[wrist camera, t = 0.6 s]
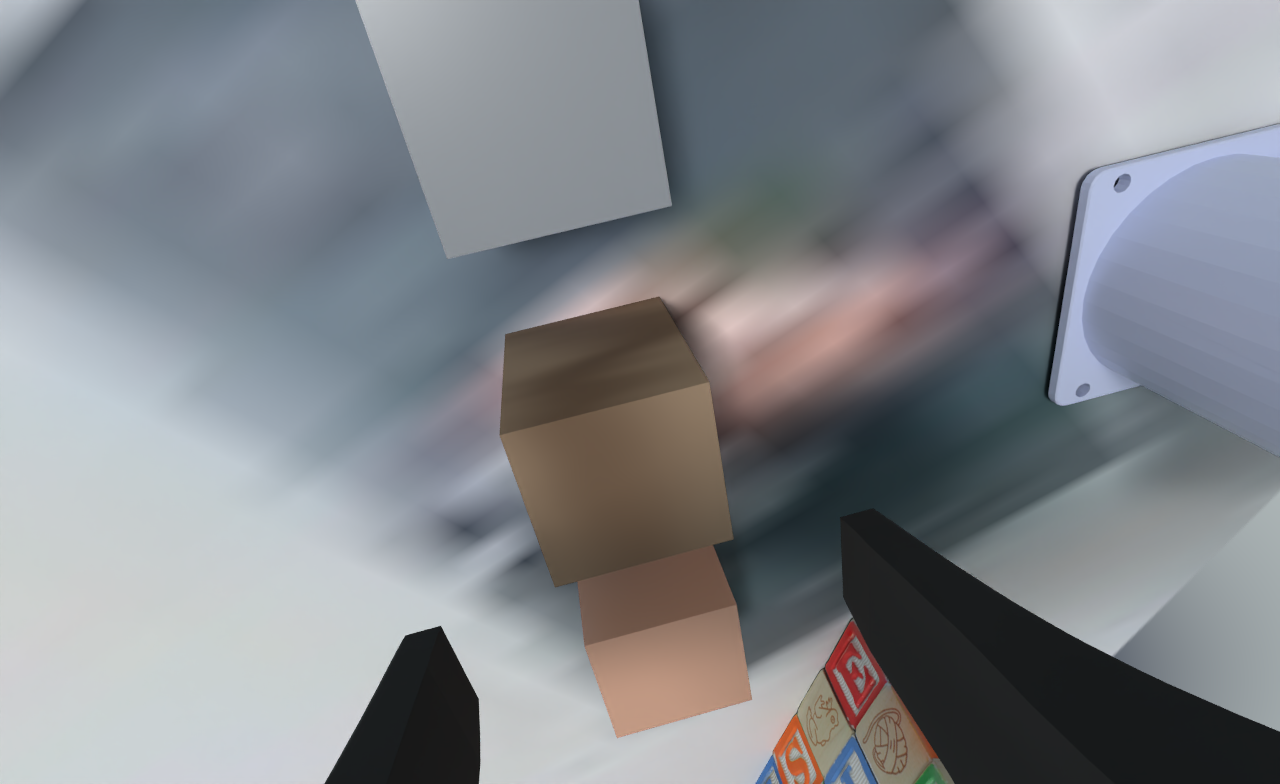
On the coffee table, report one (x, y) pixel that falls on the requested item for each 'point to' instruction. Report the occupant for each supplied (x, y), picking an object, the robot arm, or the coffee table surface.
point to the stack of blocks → (853, 729)
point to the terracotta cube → (664, 640)
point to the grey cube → (522, 113)
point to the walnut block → (612, 441)
